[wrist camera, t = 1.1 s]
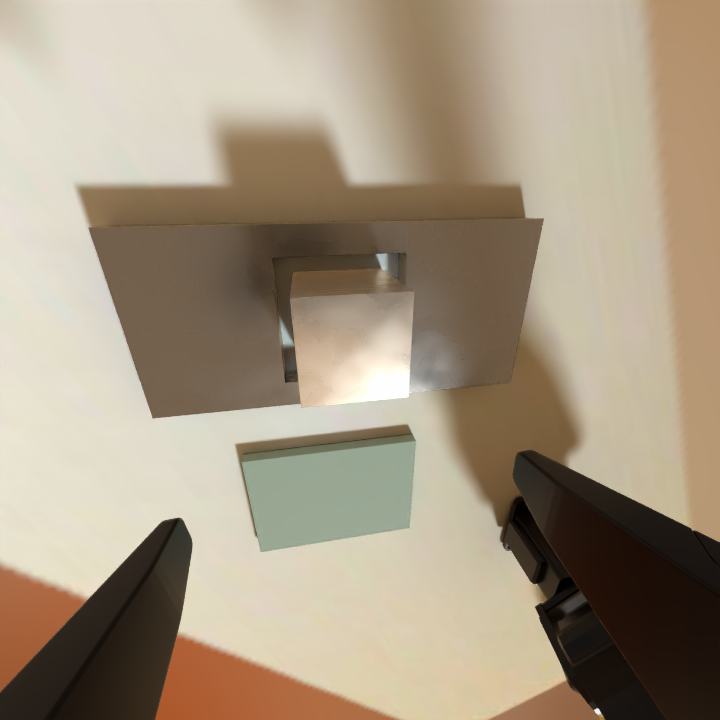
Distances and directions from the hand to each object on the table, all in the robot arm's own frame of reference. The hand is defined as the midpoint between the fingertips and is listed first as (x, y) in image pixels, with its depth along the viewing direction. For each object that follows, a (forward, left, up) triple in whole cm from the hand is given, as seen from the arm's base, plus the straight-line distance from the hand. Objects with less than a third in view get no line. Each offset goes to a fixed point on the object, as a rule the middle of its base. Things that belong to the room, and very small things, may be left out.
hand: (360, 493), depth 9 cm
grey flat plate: (-1, -1, -12) cm, 12 cm away
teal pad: (0, +13, -12) cm, 18 cm away
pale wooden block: (-1, -1, -12) cm, 12 cm away
